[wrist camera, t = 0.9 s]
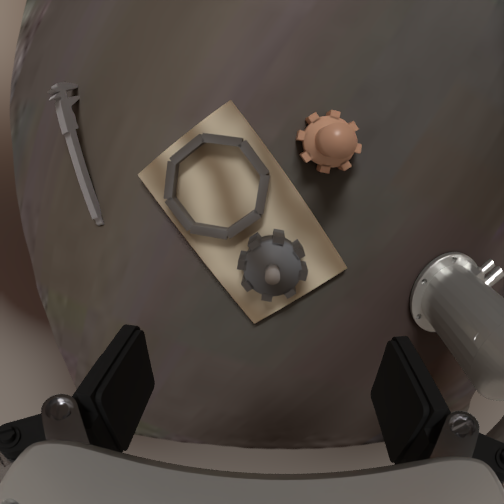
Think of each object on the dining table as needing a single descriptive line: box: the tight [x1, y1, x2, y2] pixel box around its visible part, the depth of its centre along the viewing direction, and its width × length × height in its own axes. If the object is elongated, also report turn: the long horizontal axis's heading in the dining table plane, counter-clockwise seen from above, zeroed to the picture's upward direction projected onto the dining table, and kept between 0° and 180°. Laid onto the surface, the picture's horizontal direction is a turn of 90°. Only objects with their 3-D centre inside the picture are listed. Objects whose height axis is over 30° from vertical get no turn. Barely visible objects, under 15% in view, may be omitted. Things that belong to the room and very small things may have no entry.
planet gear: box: [296, 110, 362, 174], centre depth 29 cm, size 7×7×8 cm
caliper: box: [47, 82, 104, 226], centre depth 32 cm, size 20×1×6 cm, turn 10°
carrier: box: [138, 100, 347, 324], centre depth 33 cm, size 14×24×6 cm, turn 36°
